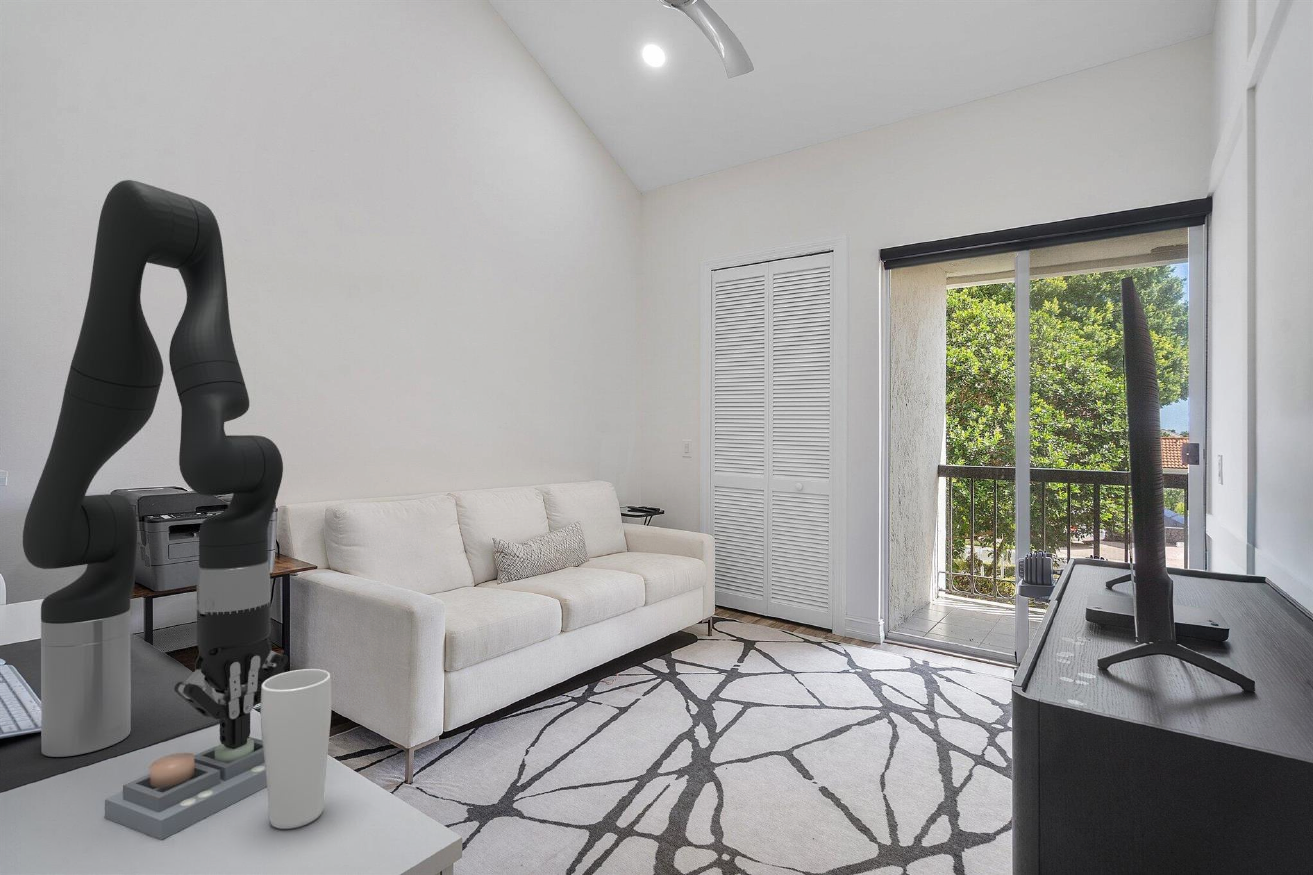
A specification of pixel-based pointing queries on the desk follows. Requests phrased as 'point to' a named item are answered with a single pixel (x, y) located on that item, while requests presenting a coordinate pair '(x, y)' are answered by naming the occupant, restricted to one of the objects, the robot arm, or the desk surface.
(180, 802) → the two-button control panel
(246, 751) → the button one
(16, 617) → the desk surface
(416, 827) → the desk surface
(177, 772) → the button two
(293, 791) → the drinking glass
